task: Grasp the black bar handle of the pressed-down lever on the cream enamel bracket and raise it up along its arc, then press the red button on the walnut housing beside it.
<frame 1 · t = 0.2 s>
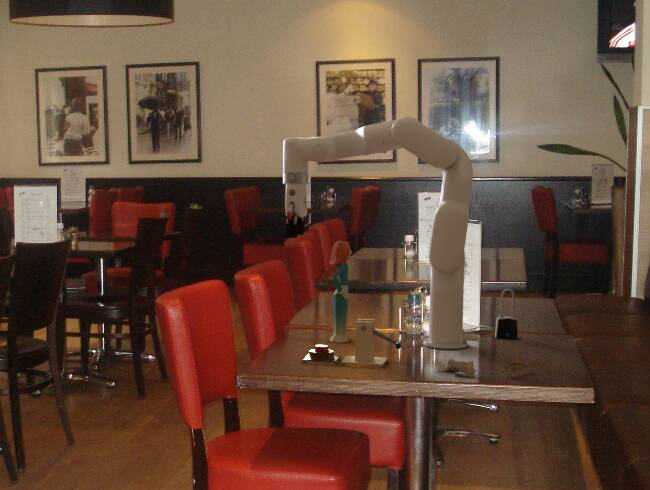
hand: (295, 236, 313), 31 cm above the table, tool pointing down, fingers open, 9 cm apart
lever: (380, 335, 276), point 8 cm above the table, hinge at -25.0°
sculpture: (339, 340, 313), on the table
button box: (321, 361, 281), on the table
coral: (455, 375, 265), on the table
bracket: (364, 364, 278), on the table
fish: (517, 377, 262), on the table
padlock: (506, 338, 317), on the table
button: (321, 348, 281), point 4 cm above the table, slide at 0.2 cm
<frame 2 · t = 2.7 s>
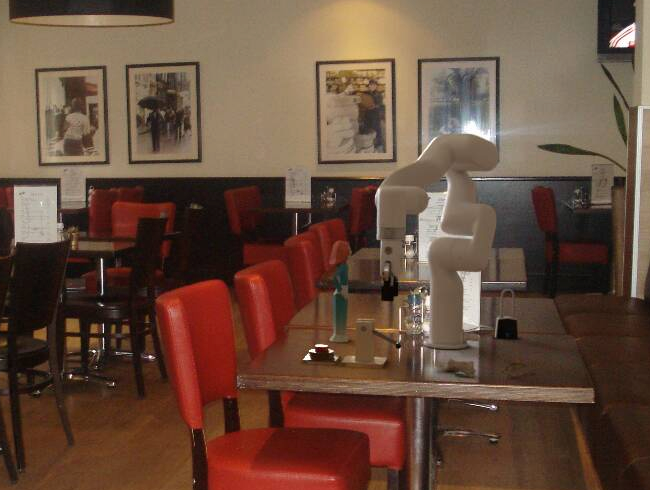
hand: (389, 298, 277), 18 cm above the table, tool pointing down, fingers open, 9 cm apart
nothing on the table moved.
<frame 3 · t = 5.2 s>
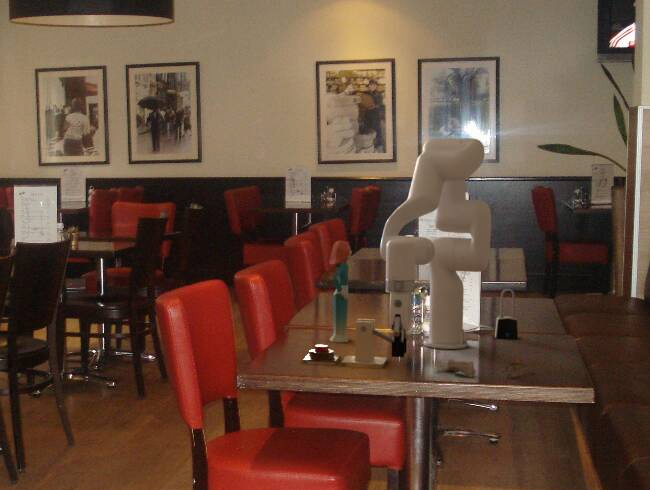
hand: (399, 354, 275), 3 cm above the table, tool pointing down, fingers closed on lever, 5 cm apart
lever: (380, 335, 276), point 8 cm above the table, hinge at -25.0°, touching gripper
everything else where it was.
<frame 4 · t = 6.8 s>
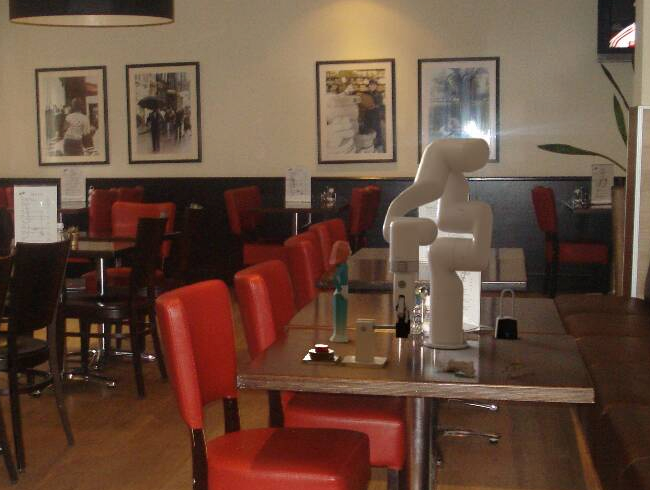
hand: (403, 335, 274), 8 cm above the table, tool pointing down, fingers closed on lever, 5 cm apart
lever: (382, 327, 276), point 10 cm above the table, hinge at 2.7°, touching gripper
everything else where it was.
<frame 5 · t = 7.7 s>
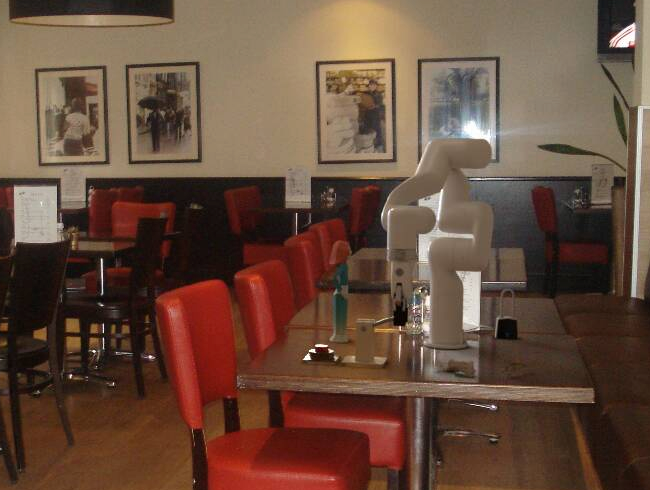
hand: (400, 323, 274), 11 cm above the table, tool pointing down, fingers closed on lever, 5 cm apart
lever: (381, 322, 276), point 12 cm above the table, hinge at 19.5°, touching gripper
everything else where it was.
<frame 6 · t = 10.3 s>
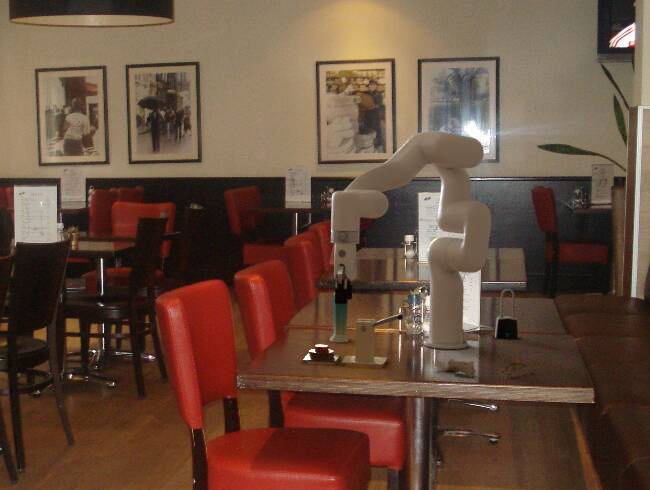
hand: (343, 301, 278), 17 cm above the table, tool pointing down, fingers open, 9 cm apart
lever: (381, 321, 276), point 12 cm above the table, hinge at 19.9°
everything else where it was.
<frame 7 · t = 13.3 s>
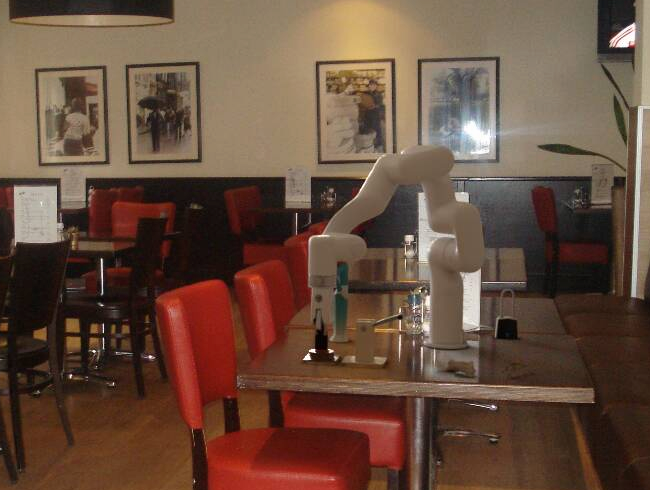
hand: (321, 349, 281), 3 cm above the table, tool pointing down, fingers closed
button: (321, 352, 281), point 3 cm above the table, slide at -0.8 cm, touching gripper
everything else where it was.
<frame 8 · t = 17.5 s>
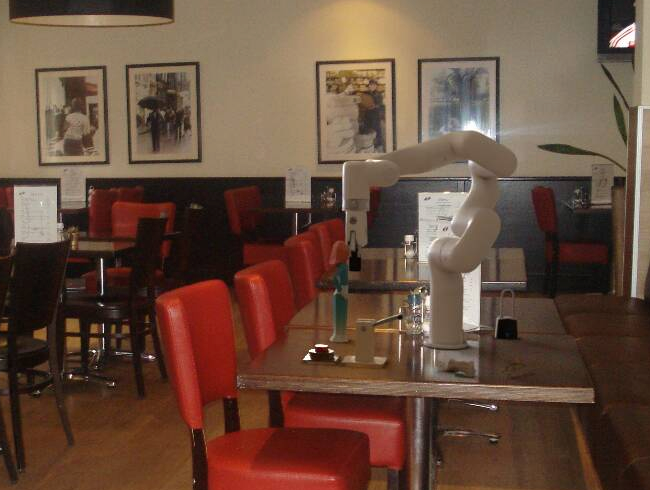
hand: (355, 271, 291), 23 cm above the table, tool pointing down, fingers closed
button: (321, 348, 281), point 4 cm above the table, slide at 0.2 cm
everything else where it was.
at the end: lever at +20° (first picture: -25°); button pushed in 1.1 cm at the most during the clip, back to 0.2 cm at the end; button slide at 0.2 cm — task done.
